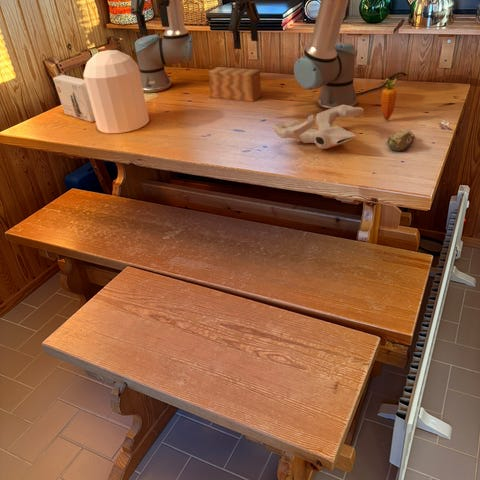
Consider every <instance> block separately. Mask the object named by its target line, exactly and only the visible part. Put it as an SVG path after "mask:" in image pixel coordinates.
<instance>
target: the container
mask: <svg viewBox="0 0 480 480" xmlns="http://www.w3.org/2000/svg"><path fill="white" fill-rule="evenodd" d="M82 75H83V79H84V80H85V84H86V87H87V91H88V95H89V98H90V102H91V106H92V110H93V113H94V117H95V121H94V122H95V124H96V128H97V130H98V131H100V132H101V133H106V134H122V133H123V134H124V133H128V132H132V131H136V130H139V129H141V128H142V127H144V126H147V124H148V123H149V122H150V116H149V112H148V108H147V102H146V97H145V92H143V87H142V82H141V77H140V69H139V64H138V62H136V61H135V60H134V58H132V56H130V55H128V54H126V53H124V52H123V51H120V50H117V49H107V50H103V51H98V52H97V53H95V54H93V55H92V57H90V59H88V60H87V62H86V65H85V67H84V70H83V74H82Z"/></svg>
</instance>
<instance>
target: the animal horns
mask: <svg viewBox="0 0 480 480" xmlns="http://www.w3.org/2000/svg"><path fill="white" fill-rule="evenodd" d="M364 110H365V109H363V107H358V106H355V107H352V106H348V105H341V106H338V107H334V108H332V109H329V110H326V109H325V110H324V111H323V110H322V111H321V112H318V113H317V114H316V117H315V116H314V114H311V115H308V116H307V119H306V120H305V121H304V122H301V121H300V120H298V119H293V120H289V121H285V122H280V123H275V124H274V125H273V131H274V133H275V134H276V135H277V136H278V137H279V138H281V139H292V140H293V139H294V140H299V141H300V142H301V143H303V144H309V143H312V144H315V146H316V147H317V148H319V149H321V150H328V149H331V148H334V147H337V146H340V145H342V144H345V143H348V142H351V141H353V140H355V138H356V135H355V133H354V132H352V131H349V130H346V129H345V128H344V127H342V126H340V125H334V126H332V125H333V123H334V121H335V120H336V119H337V118H349V117H353V118H357V119H360V118H361V117H362V116H363V114H364ZM315 121H316V122H315ZM315 125H317V127H318V129H315V128H313V127H314V126H315Z"/></svg>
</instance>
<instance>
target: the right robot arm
mask: <svg viewBox="0 0 480 480" xmlns="http://www.w3.org/2000/svg"><path fill="white" fill-rule="evenodd" d="M348 4H349V0H320V3H319V8H318V11H317V16H316V19H315V24H314V28H313V32H312V36H311V40H310V42H309V43H307V44H306V45H305V47H304V50H303V55H302V57H300V58H298V59H297V60H296V61H295V63H294V66H293V75H294V78H295V79H296V81H297V83H298V85H299V86H300V87H302V88H303V89H305V90H308V91H312V90H316V89H319V88H321V89H320V92H319V95H318V98H317V106H318V107H319V108H320V109H323V110H325V111H326V110H329V109H332V108H334V107H338V106H341V105H348V106H352V107H357V105H358V97H357V96H359V95H363V94H366V93H369V92H373V91H376V90H380V89H382V88H385V87H386V85H387V83H386V82H385V83H384V84H383V85H380V86H377V87H374V88H371V89H368V90H363V91H360V92H356V90H355V85H354V77H355V61H356V60H355V59H356V46H355V45H354V44H353V43H350V42H343V41H341V42H340V41H338V38H339V35H340V31H341V27H342V24H343V20H344V17H345V14H346V10H347V7H348ZM230 5H231V10H230V16H229V17H230V18H229V25H228V31H229V32H232V37H233V38H232V40H233V49H234V50H241V49H242V43H241V31H240V25H241V23H242V18H243V16H244V15H245V14H246V15H247V18H248V19H249V21H250V25H249V26H250V41H251V42H258V41H259V36H258V35H259V34H258V24H260V20H261V18H260V14H259V11H258V7H257V5H256V0H235V2H234V1H233V2H231V4H230ZM399 75H403V76H407V74H406V73H405V72H397V73H394V74H393V75H390V76H388V77H387V79H390V80H391V79H392V78H394V77H396V76H399Z"/></svg>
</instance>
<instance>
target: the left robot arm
mask: <svg viewBox="0 0 480 480" xmlns="http://www.w3.org/2000/svg"><path fill="white" fill-rule="evenodd" d="M156 2H157V3H158V5H159V6H158V10H159V17H160V22H161V27H162V28H165V29H164V32H163V33H162V36H163V37H160V35H159V34H148V32H149V31H148V27H147V22H146V16H145V14H144V8H145V4H146V0H130V14H132V15H134V16H135V18H136V23H137V26H138V30H139V35H140V36H142V37H140V38H138V39H137V40H135V42H134V49H135V55H136V59H137V65H138V67H139V72H140V77H141V82H142V87H143V92H144V94H145V93H146V94H152V93H160V92H165V91H166V90H169V89H170V88H171V87H172V82H171V79H170V78H169V75H168V74H167V71H166V69H165V66H167V65H168V66H169V65H179V64H182V65H183V64H188V63H192V61H193V59H194V58H193V57H194V37H193V35H191V34H190V33H189V30H188V29H187V28H186V27H185V21H184V15H183V7H182V0H156Z"/></svg>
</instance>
